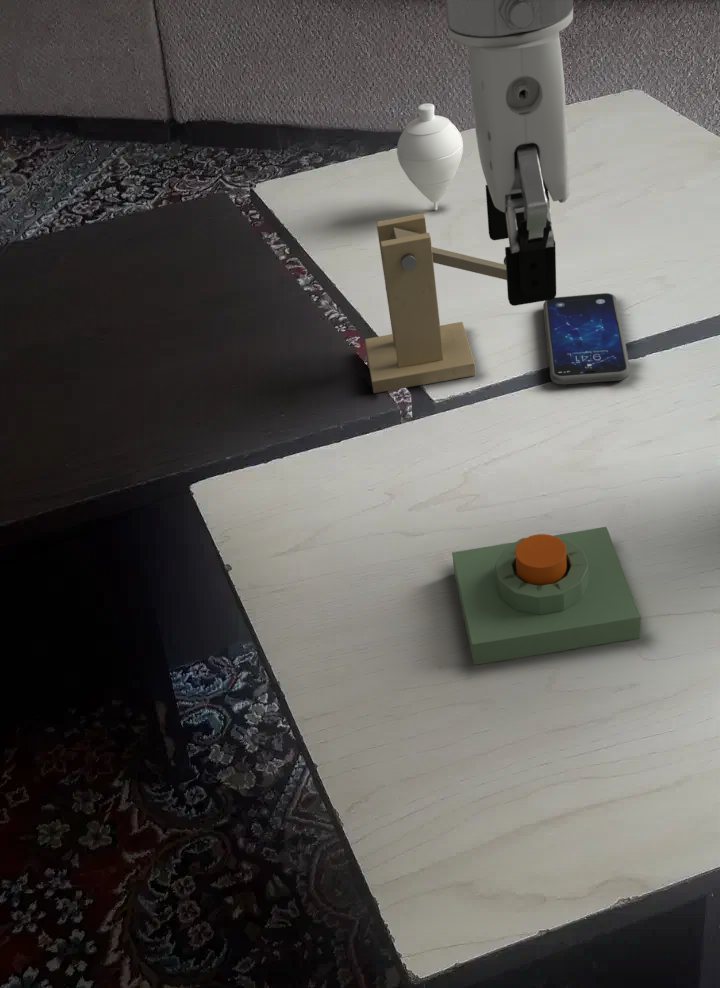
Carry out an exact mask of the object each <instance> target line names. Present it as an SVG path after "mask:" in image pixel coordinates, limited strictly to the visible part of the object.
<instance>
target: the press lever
mask: <svg viewBox="0 0 720 988" xmlns="http://www.w3.org/2000/svg"><path fill="white" fill-rule="evenodd" d="M413 235H419V233H415V232H411V231H406V230H402V229H398V228H393V230H392V233H391V237H390V240H392V239H397V238H402V237H408V236H413ZM432 255H433V264H437V265H440V266H441V265H442V266H445V267H450V268H455V269H458V270H463V271H467V272H471V273H475V274H479V275H484V276H487V277H492V278H496V279H501V280H505V281H507V272H506V255H505V257H504V258H503V263H500V262H496V261H492V260H487V259H484V258H479V257H476V256H471V255H467V254H462V253H459V252H455V251H450V250H446V249H442V248H437V247H433V246H432Z"/></svg>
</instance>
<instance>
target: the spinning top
mask: <svg viewBox="0 0 720 988" xmlns="http://www.w3.org/2000/svg"><path fill="white" fill-rule="evenodd" d="M416 108H417V109H416V110H417V114H418V117H417V118H415V119H412V120H410V121H409V123H407V124H406V125H405V128H404V130H403V131H402V133H401V134H400V135H399V138H398V140H397V146H396V155H397V160H398V163H399V165H400V167H401V169H402V170H403V172H404V173H405V175H406V176H407V178H408V179H409V181H410V182H411V183H412V184H413V186H415V188H417V190H418V191H419V192H420V193H421V194H422V195H423V196H424V197H425V198H426V199H427V200H428V201H429V202H431V203H433V209H434V210H435V211H437V210H438V202H439V201H440V200H442V197H443V196H444V194H445V193H446V191H447V190H448V188H449V186H450V184H451V183H452V181H453V180H454V178H455V175H456V173H457V172H458V170H459V169H458V168H459V166H460V163H461V161H462V158H463V154H464V142H463V141H464V140H463V136H462V135H461V132H460V130H459V129H458V128H457V126H456V125H455V124H454V123H453V122H451V120H450V119H449V118H447V117H445V116H442V115H437V114H435V105H434V104H433V103H428V102H427V103H422V104H420V105H419V106H418V107H416Z"/></svg>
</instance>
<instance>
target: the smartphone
mask: <svg viewBox="0 0 720 988" xmlns="http://www.w3.org/2000/svg"><path fill="white" fill-rule="evenodd" d="M542 308H543V318H544V326H545V338H546V348H547V352H546V357H547V358H546V359H547V364H548V366H549V367H548V368H549V377H550V380H551V382H553V383H554V384H556V385H573V384H574V385H575V384H576V385H577V384H587V383H601V382H615V381H622V380H625V379H627V378H628V377H629V376H630V373H631V368H630V360H629V354H628V350H627V344H626V342H625V337H624V332H623V327H622V321H621V316H620V311H619V305H618V300H617V297H616V296H615V295H614V294H612V293H608V292H603V293H592V294H591V293H590V294H580V295H569V296H567V295H566V296H555V298H554V299H552V300H547V301H543V306H542Z"/></svg>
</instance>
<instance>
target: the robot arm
mask: <svg viewBox="0 0 720 988" xmlns="http://www.w3.org/2000/svg"><path fill="white" fill-rule="evenodd" d="M445 13H446V23H447V35H448V37H449V39H450V40H451V41H452V42H454V43H457V44H458V45H461V46H466V47H468V62H469V63H468V64H469V74H470V75H469V76H470V89H471V100H472V101H471V102H472V112H473V120H474V130H475V136H476V143H477V149H478V156H479V161H480V165H481V170H482V173H483V177H484V179H485V182H486V184H485V198H486V213H487V227H488V228H487V229H488V236H489V238H490V240H492V241H499V240H500V241H501V240H505V239H506V240H507V239H508V244H509V245H508V246H505V247H504V251H505V256H506V272H507V280H506V287H507V288H506V290H507V300H508V303H509V304H510V305H511V306H513V307H515V306H516V307H517V306H521V305H528V304H533V303H540V302H545V301H547V300H552V299H554V298H555V297H557V259H556V257H557V254H556V241H555V235H554V227H553V220H552V219H553V218H552V212H551V211H552V210H551V205H550V197H551V200H552V202H559V203H560V204H562V203H566V201H568V199H569V197H570V195H571V185H570V167H569V165H570V164H569V147H568V146H569V144H568V143H569V142H568V124H567V123H568V122H567V121H568V119H567V106H566V105H567V103H566V102H567V101H566V88H565V73H564V63H563V56H562V55H563V54H562V48H561V47H562V45H561V39H560V32H562V31H563V30H565V29H566V28H568V27H569V25H571V23H572V21H574V0H445ZM549 196H550V197H549Z"/></svg>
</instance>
